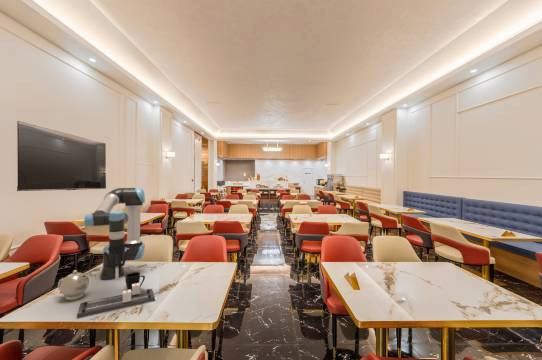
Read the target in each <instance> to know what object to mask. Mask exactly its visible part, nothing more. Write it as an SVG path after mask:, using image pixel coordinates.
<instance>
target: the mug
mask: <svg viewBox="0 0 542 360" xmlns="http://www.w3.org/2000/svg"><path fill="white" fill-rule="evenodd" d="M124 276H125V285H126V290H130V289H131V292H132V284H135V283H140V287H141V286H142V285H143V283H144V281H145V280H146V279H145V278H146V276H145V275H141V273H140V272H137V271H136V272H130V273H129V272H128V273H126V275H124ZM141 277H142V281H141V282H140V280H141Z"/></svg>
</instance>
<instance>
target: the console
mask: <svg viewBox="0 0 542 360" xmlns="http://www.w3.org/2000/svg"><path fill="white" fill-rule="evenodd" d="M153 290H154V289H153V288H147V289H143V290H140V294H135V295H132V292H131V301H129V302H124V303H123V294H119V295H114V296H108V297H103V298H99V299H94V300H89V301H87V300H86V301H84V302H80V304H79V306H78V310H77V314H76V319H81V318H85V317H89V316H93V315H98V314H102V313H108V312H111V311H115V310H119V309H125V308H128V307H133V306H138V305H143V304H146V303H151V302H155V301H156V300H155V299H156V296H155V294H154V291H153Z"/></svg>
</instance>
